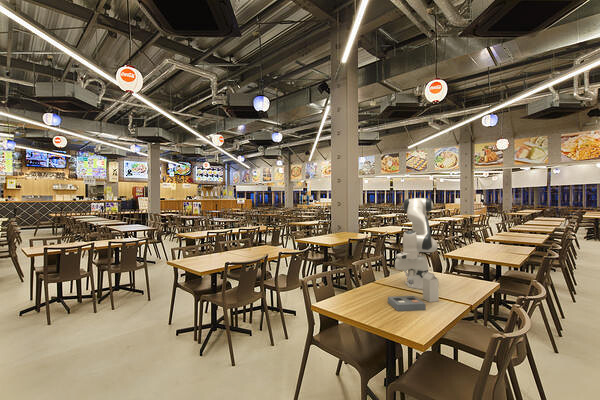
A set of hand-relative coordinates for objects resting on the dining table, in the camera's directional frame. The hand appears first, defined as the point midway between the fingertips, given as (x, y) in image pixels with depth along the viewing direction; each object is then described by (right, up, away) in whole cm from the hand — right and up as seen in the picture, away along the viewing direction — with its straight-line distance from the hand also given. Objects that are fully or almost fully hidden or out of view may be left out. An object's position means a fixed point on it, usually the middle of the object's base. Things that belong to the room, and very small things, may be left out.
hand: (410, 276), depth 190 cm
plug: (0, -5, 0) cm, 5 cm away
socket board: (-4, -19, -3) cm, 20 cm away
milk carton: (+17, -19, +8) cm, 27 cm away
